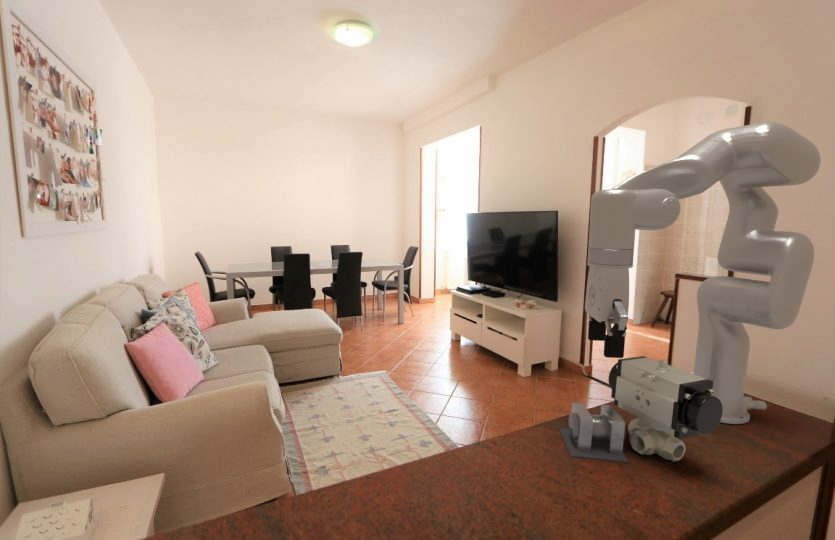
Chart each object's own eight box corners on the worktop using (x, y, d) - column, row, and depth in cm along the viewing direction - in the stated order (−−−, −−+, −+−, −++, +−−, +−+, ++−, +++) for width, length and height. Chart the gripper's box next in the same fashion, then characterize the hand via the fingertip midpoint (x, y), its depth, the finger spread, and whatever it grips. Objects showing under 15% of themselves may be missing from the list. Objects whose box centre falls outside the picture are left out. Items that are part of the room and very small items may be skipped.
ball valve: (597, 430, 83) (604, 348, 80) (628, 424, 86) (635, 344, 83) (682, 484, 66) (693, 382, 64) (716, 474, 69) (728, 376, 67)
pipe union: (613, 436, 80) (616, 406, 79) (625, 455, 73) (628, 422, 73) (566, 432, 81) (569, 402, 80) (574, 450, 75) (577, 417, 74)
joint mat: (609, 433, 82) (609, 432, 81) (628, 462, 72) (628, 461, 72) (559, 429, 83) (559, 427, 83) (570, 457, 73) (571, 455, 73)
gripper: (576, 253, 82) (572, 334, 84) (603, 263, 65) (597, 364, 67) (615, 253, 81) (609, 335, 83) (653, 264, 64) (645, 366, 66)
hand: (604, 348), depth 75 cm, fingers open, 9 cm apart
